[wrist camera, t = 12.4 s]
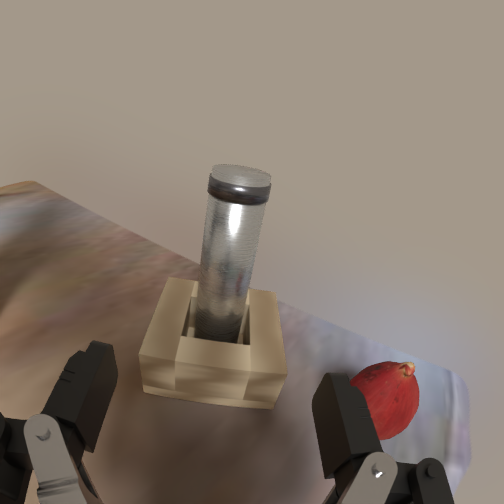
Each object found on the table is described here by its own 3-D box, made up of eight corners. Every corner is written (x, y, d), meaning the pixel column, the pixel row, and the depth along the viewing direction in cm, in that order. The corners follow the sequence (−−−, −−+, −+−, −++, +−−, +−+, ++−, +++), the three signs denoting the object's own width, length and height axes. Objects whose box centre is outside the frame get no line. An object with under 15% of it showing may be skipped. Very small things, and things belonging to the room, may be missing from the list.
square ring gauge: (143, 392, 20) (138, 353, 18) (167, 314, 29) (168, 276, 27) (272, 409, 21) (287, 374, 19) (265, 328, 30) (275, 292, 28)
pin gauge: (188, 363, 22) (207, 172, 16) (194, 333, 26) (214, 161, 19) (235, 370, 23) (275, 183, 16) (236, 339, 26) (270, 170, 19)
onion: (312, 426, 19) (353, 358, 16) (352, 391, 23) (391, 323, 20) (366, 470, 16) (428, 411, 12) (400, 426, 19) (452, 363, 16)
